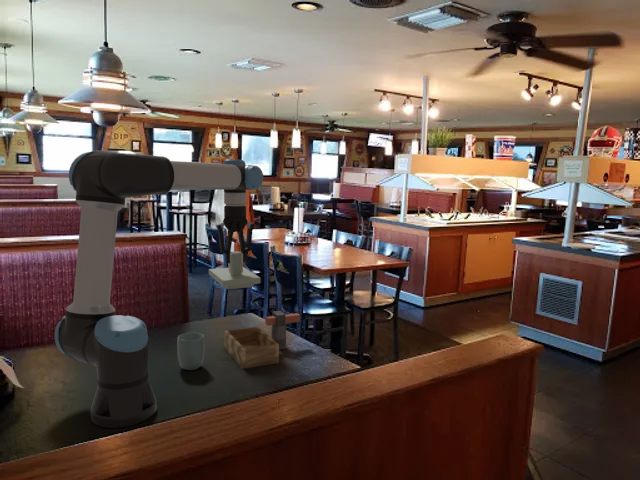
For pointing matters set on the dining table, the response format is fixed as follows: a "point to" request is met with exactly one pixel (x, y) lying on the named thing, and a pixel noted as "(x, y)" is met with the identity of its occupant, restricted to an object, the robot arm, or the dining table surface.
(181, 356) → the cup
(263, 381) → the dining table surface
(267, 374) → the dining table surface
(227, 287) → the lid
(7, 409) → the dining table surface
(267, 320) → the red bar
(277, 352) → the wooden box
